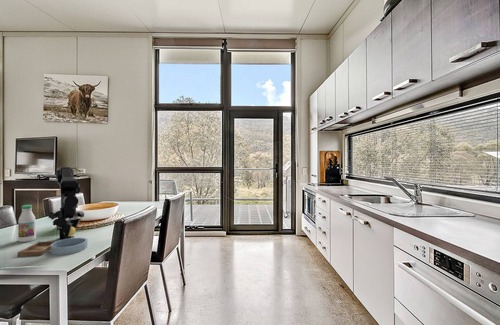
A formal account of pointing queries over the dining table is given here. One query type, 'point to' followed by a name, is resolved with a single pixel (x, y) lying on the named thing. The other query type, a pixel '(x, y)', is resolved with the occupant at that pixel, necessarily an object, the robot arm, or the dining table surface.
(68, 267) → the dining table surface
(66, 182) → the robot arm
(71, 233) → the ball
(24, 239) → the milk bottle
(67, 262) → the dining table surface
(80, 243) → the bowl
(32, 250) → the tray
